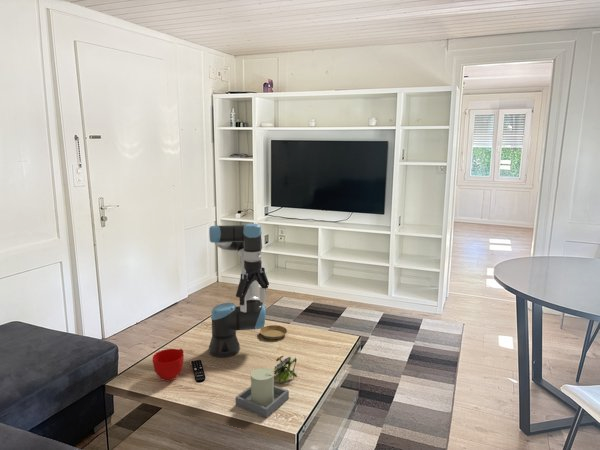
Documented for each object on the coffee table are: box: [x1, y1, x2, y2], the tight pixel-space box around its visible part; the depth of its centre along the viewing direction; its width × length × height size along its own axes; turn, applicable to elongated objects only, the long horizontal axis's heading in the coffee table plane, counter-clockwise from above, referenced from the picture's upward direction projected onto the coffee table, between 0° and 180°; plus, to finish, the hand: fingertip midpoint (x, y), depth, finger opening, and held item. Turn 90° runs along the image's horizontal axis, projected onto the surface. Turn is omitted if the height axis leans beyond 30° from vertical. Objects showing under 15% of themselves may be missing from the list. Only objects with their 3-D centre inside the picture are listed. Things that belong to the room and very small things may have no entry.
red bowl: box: [152, 348, 185, 381], centre depth 191 cm, size 13×17×10 cm
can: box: [250, 367, 275, 407], centre depth 171 cm, size 9×9×12 cm
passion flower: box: [272, 355, 298, 384], centre depth 190 cm, size 11×11×12 cm
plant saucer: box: [259, 324, 288, 340], centre depth 233 cm, size 15×15×3 cm
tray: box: [235, 385, 290, 419], centre depth 172 cm, size 15×15×4 cm
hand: (253, 306), depth 190 cm, fingers open, 13 cm apart
